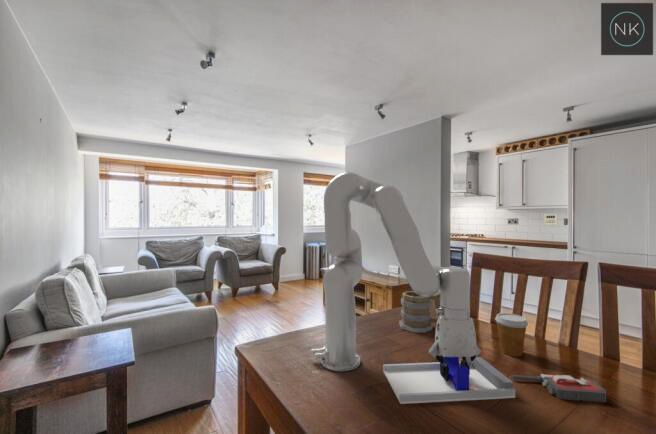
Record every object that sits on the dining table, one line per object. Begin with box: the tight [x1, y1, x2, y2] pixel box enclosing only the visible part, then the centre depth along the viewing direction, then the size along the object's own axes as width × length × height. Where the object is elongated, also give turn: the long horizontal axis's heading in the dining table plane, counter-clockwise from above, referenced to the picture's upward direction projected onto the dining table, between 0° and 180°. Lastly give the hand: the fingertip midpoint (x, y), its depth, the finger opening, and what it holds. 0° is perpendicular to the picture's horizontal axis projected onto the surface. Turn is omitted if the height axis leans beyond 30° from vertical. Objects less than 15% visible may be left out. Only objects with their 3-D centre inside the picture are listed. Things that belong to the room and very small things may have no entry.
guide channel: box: [382, 356, 516, 405], centre depth 81 cm, size 30×16×4 cm, turn 95°
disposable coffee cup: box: [494, 312, 529, 357], centre depth 101 cm, size 10×10×12 cm
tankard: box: [398, 290, 440, 334], centre depth 124 cm, size 20×13×15 cm, turn 88°
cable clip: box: [447, 357, 469, 391], centre depth 82 cm, size 12×4×6 cm, turn 170°
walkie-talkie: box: [511, 373, 607, 403], centre depth 78 cm, size 9×4×20 cm
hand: (454, 377), depth 82 cm, fingers closed on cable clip, 5 cm apart
